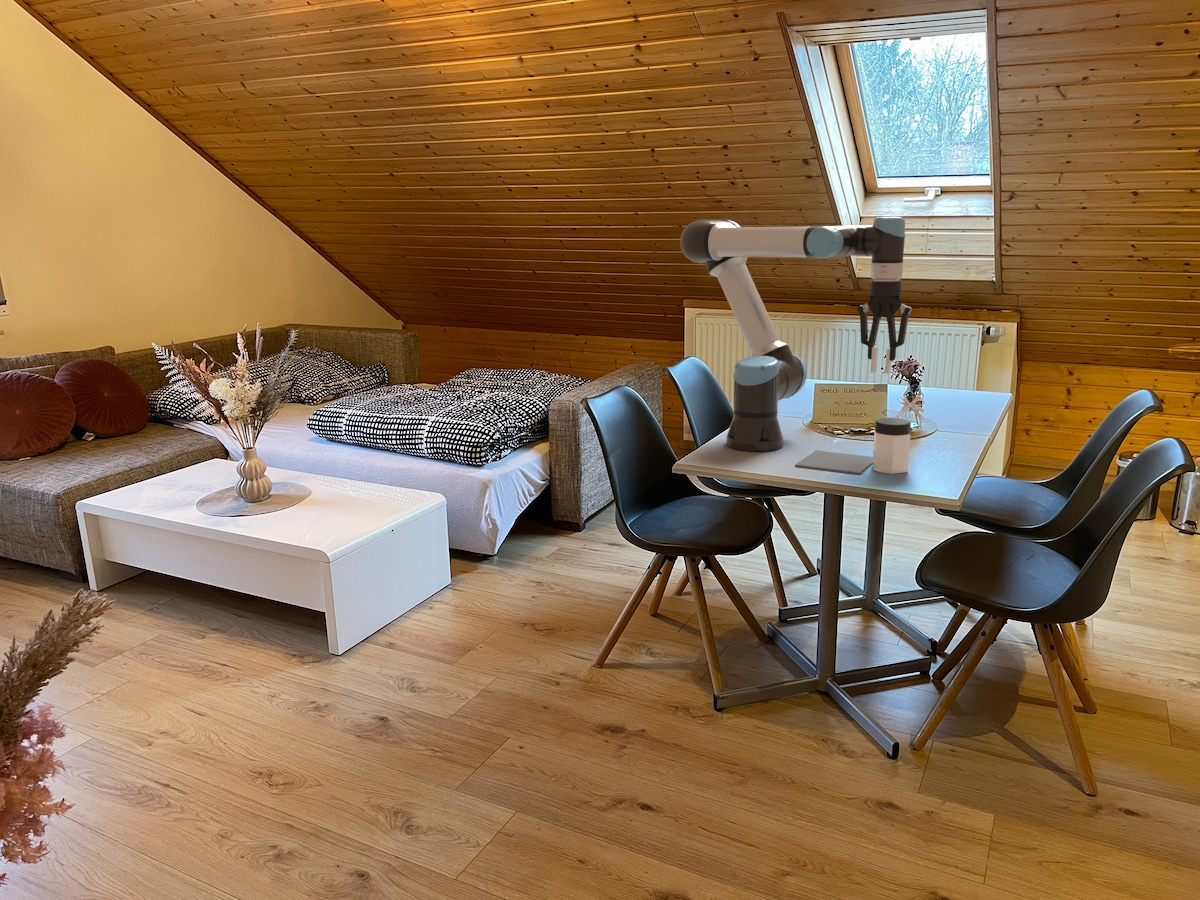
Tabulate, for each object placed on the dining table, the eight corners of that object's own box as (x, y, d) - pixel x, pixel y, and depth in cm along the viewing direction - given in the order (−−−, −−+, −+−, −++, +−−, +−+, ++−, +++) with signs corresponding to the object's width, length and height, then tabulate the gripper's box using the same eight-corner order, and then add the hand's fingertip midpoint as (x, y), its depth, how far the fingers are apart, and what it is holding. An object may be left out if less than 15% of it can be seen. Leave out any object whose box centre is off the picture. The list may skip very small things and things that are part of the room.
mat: (795, 466, 222) (795, 464, 222) (815, 452, 235) (815, 450, 235) (860, 474, 214) (860, 472, 213) (877, 459, 227) (877, 457, 227)
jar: (914, 468, 218) (918, 420, 215) (900, 476, 212) (903, 426, 209) (880, 462, 224) (883, 415, 221) (864, 469, 218) (867, 421, 215)
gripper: (850, 280, 227) (845, 372, 233) (915, 281, 219) (909, 376, 224) (858, 278, 233) (853, 368, 239) (922, 279, 225) (915, 372, 231)
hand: (880, 372), depth 232 cm, fingers open, 3 cm apart
